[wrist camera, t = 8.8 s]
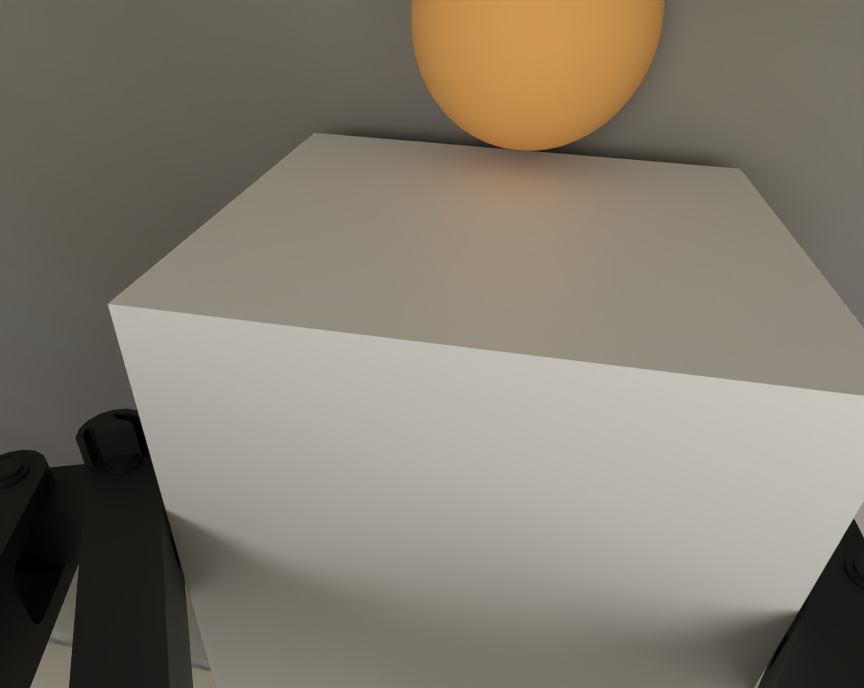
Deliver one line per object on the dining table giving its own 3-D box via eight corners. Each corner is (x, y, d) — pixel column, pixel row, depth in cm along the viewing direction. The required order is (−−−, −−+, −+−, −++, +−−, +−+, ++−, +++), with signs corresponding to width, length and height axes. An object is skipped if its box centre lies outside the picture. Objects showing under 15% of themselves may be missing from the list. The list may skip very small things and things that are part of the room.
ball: (542, 140, 10) (599, -234, 9) (350, 130, 13) (371, -143, 12) (679, 169, 14) (734, -96, 12) (500, 155, 17) (528, -55, 16)
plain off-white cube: (642, 483, 20) (691, 793, 13) (334, 439, 21) (219, 700, 14) (740, 168, 15) (921, 402, 7) (314, 133, 16) (107, 303, 9)
